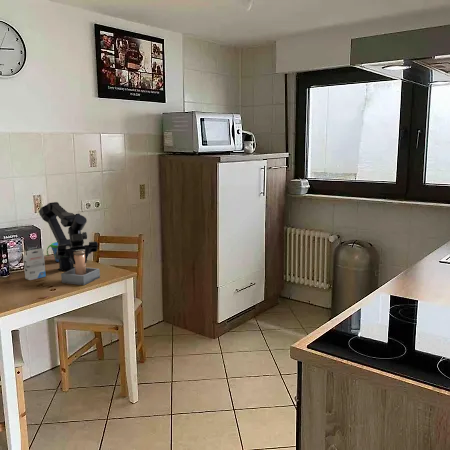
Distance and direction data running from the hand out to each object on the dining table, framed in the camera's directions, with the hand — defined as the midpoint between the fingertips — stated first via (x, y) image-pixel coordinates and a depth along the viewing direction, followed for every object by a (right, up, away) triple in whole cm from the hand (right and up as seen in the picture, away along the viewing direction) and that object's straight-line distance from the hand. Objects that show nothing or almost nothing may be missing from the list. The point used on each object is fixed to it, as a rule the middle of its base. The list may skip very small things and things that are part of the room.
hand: (80, 263), depth 216 cm
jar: (-1, -6, +2) cm, 7 cm away
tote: (0, -8, +3) cm, 9 cm away
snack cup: (-23, -2, +40) cm, 46 cm away
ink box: (-25, -8, +8) cm, 27 cm away
